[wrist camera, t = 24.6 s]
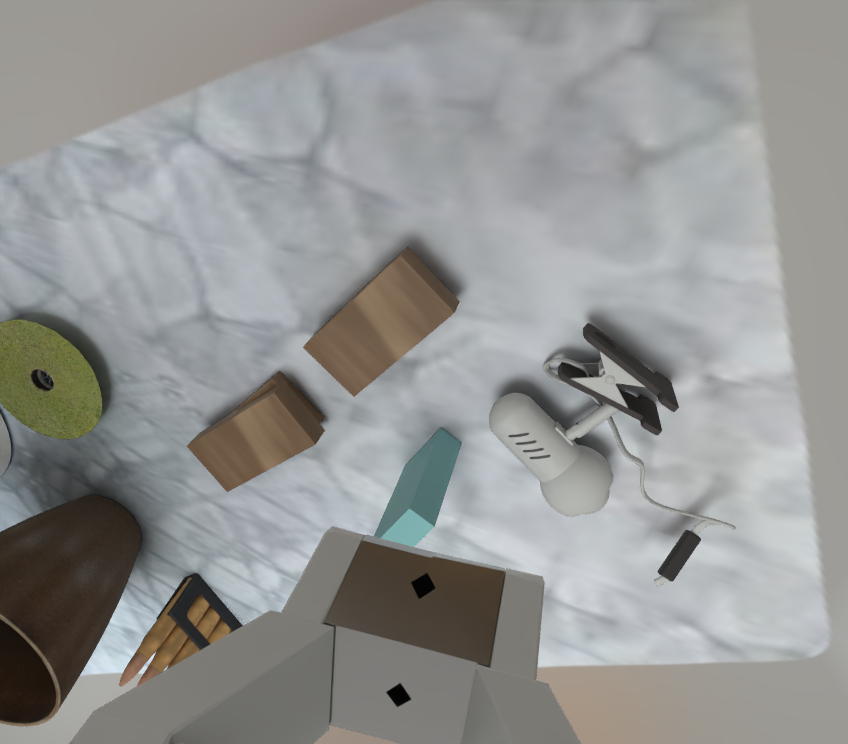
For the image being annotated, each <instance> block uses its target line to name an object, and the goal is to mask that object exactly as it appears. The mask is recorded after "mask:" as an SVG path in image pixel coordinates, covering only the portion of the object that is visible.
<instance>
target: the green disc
mask: <svg viewBox="0 0 848 744" xmlns="http://www.w3.org/2000/svg"><path fill="white" fill-rule="evenodd" d="M98 383H99V382H98V381H97V379H96V377H95V373H94V372H93V370H92V368H91V366H90V365H89V363H88V362H87V361H86V360H85V358H84V356H83V355H82V354H81V353H80V352H79V350H78V349H76V348H75V347H74V346H73V345H72V344H71V343H70V342H69V341H68V340H66V339H64V337H62V336H61V335H60V334H58V333H57V331H54V330H52V329H50V328H47V327H45V326H43V325H41V324H38V323H35V322H32V321H27V320H26V321H25V320H20V319H17V320H15V319H14V320H8V321H5V322H1V323H0V402H1V404H2V405H3V407H4V408H5V409H7V410H8V411H9V412H10V414H11V415H13V416H14V417H15V418H16V419H17V420H19V421H20V422H21V423H22V424H24V425H25V426H28V427H29V428H31V429H32V430H34V431H36V432H39V433H41V434H44V435H45V436H50V437H53V438H58V439H70V438H71V439H73V438H78V437H81V436H83V435H85V434H87V432H90V431H91V430H92V429H93V428H94V427H95V426H96V424H97V423H98V421H99V419H100V416H101V412H102V398H101V392H100V387H99V384H98Z"/></svg>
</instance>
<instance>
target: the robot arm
mask: <svg viewBox="0 0 848 744" xmlns="http://www.w3.org/2000/svg"><path fill="white" fill-rule="evenodd" d="M10 457H11V442H10V437H9V433H8V430H7V427H6V425H5V422H4V420H3V418H2V416H1V414H0V476H1V475H2V474H3V473H4V472H5V470H6V469H7V467H8V465H9V462H10ZM543 594H544V580H543V577H542V576H538V575H533V574H529V573H525V572H520V571H516V570H511V569H506V571H505V568H501V567H496V566H492V565H488V564H483V563H479V562H475V561H470V560H466V559H462V558H457V557H453V556H449V555H444V554H440V553H436V552H435V553H434V552H430V551H427V550H423V549H419V548H415V547H411V546H408V545H404V544H400V543H396V542H393V541H389V540H385V539H381V538H378V537H374V536H370V535H362V534H359V533H355V532H352V531H348V530H344V529H341V528H337V527H333V526H332V527H331V528H330V529H329V530H328V531H327V532H326V533H325V534H324V536H323V537H322V539H321V541H320V543H319V545H318V546H317V548H316V550H315V552H314V554H313V556H312V557H311V559H310V561H309V563H308V565H307V567H306V568H305V570H304V572H303V574H302V576H301V577H300V579H299V581H298V583H297V585H296V587H295V588H294V590H293V592H292V594H291V596H290V597H289V599H288V601H287V603H286V605H285V607H284V608H283V610H282V612H281V613H280V612H275V611H271V610H270V611H268V612H267V613H265V614H263V615H261V616H260V617H258V618H256V619H254V620H253V621H251V622H249V623H247V624H246V625H244V626H242V627H240V628H239V629H237V630H235V631H233V632H232V633H230V634H228V635H226V636H225V637H223V638H221V639H219V640H218V641H216V642H214V643H212V644H211V645H209V646H207V647H205V648H204V649H202V650H200V651H198V652H197V653H195V654H193V655H191V656H189V657H188V658H186V659H184V660H182V661H181V662H179V663H177V664H175V665H174V666H172V667H170V668H168V669H167V670H165V671H163V672H161V673H160V674H158V675H156V676H154V677H153V678H151V679H149V680H147V681H146V682H144V683H142V684H140V685H139V686H137V687H135V688H134V689H132V690H130V691H128V692H126V693H125V694H123V695H121V696H119V697H118V698H116V699H114V700H112V701H111V702H109V703H108V704H105V705H104V706H102V707H100V708H98V709H97V710H95V711H94V712H93V713H92V714H91V715H90V717H89V718H88V719H87V721H86V722H85V723H84V725H83V726H82V728H81V729H80V730H79V731H78V733H77V734H76V735H75V737H74V738H73V739H72V741H71V742H70V743H69V744H313V743H315V742H316V741H317V740H318V739H319V738H320V737H321V736H322V735H324V734H325V733H326V732H327V731H328V730H329V725H331V726H335V727H339V728H343V729H346V730H350V731H355V732H358V733H362V734H366V735H370V736H374V737H378V738H382V739H385V740H389V741H393V740H394V741H393V742H396V743H399V744H581V742H580V740H579V738H578V737H577V734H576V733H575V731H574V729H573V727H572V726H571V724H570V722H569V720H568V718H567V717H566V715H565V713H564V711H563V710H562V708H561V706H560V704H559V702H558V700H557V699H556V697H555V695H554V693H553V692H552V690H551V688H550V686H549V684H547V683H544V682H541V681H537V680H536V677H537V665H538V653H539V642H540V630H541V618H542V606H543Z"/></svg>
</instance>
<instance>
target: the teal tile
mask: <svg viewBox="0 0 848 744" xmlns="http://www.w3.org/2000/svg"><path fill="white" fill-rule="evenodd" d="M460 446H461V442H460V441H459V440H457V439H456V438H455V437H453V436H452V435H451V434H449V433H448V432H447V431H445V430H444V429H443V428H440V429H439V430H438V431H437V432H436V433H435V434H434V435H433V437H432V438H431V439H430V440H429V441H428V442H427V443H426V444H425V445H424V446H423V447H422V448H421V449H420V450H419V452H418V453H417V454H416V455H415V456H414V457H413V458H412V459H411V460H410V461H409V462H408V463H407V464H406V465H405V467H404V469H403V471H402V474H401V476H400V478H399V481H398V483H397V485H396V487H395V490H394V492H393V494H392V496H391V499H390V501H389V503H388V506H387V508H386V510H385V512H384V515H383V517H382V519H381V521H380V524H379V526H378V528H377V531H376V533H375V535H374V537H378V538H381V539H385V540H389V541H393V542H396V543H400V544H404V545H408V546H411V547H414V546H415V545H416V544H417V543H418V542H419V541H420V540H421V539H422V538H423V537H424V536H425V535H426V534H427V533H428V532H430V531H431V530H432V529H433V528H434V527H435V524H436V520H437V517H438V514H439V511H440V508H441V505H442V502H443V499H444V496H445V493H446V490H447V486H448V483H449V480H450V477H451V474H452V471H453V468H454V465H455V462H456V459H457V455H458V452H459V449H460Z"/></svg>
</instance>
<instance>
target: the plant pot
mask: <svg viewBox="0 0 848 744" xmlns="http://www.w3.org/2000/svg"><path fill="white" fill-rule="evenodd" d="M140 545H141V532H140V529H139V526H138V524H137V522H136V521H135V519H134V518H133V516H132V515H131V514H130V513H129V512H128V511H127V510H126V509H125V508H123V507H122V506H121V505H119V504H118V503H116V502H114V501H112V500H110V499H108V498H105V497H102V496H96V495H90V496H85V497H82V498H79V499H76V500H73V501H70V502H68V503H65V504H62V505H60V506H57V507H55V508H52V509H50V510H47V511H45V512H43V513H40V514H38V515H35V516H33V517H31V518H29V519H26V520H24V521H22V522H20V523H18V524H16V525H14V526H12V527H10V528H8V529H5V530H3V531H1V532H0V723H2V724H7V725H13V726H33V725H39V724H42V723H44V722H47V721H48V720H49V719H51V718H52V717H53V716H54V715H55V714H56V713H57V711H58V709H59V708H60V706H61V705H62V703H63V702H64V700H65V698H66V697H67V695H68V693H69V692H70V690H71V689H72V687H73V686H74V684H75V682H76V681H77V679H78V677H79V676H80V674H81V673H82V671H83V669H84V667H85V666H86V664H87V662H88V661H89V659H90V657H91V655H92V654H93V652H94V650H95V648H96V646H97V644H98V643H99V641H100V639H101V637H102V635H103V633H104V631H105V629H106V627H107V625H108V623H109V621H110V619H111V617H112V615H113V613H114V611H115V609H116V607H117V605H118V603H119V600H120V598H121V596H122V593H123V591H124V589H125V586H126V584H127V582H128V579H129V577H130V574H131V571H132V568H133V566H134V563H135V560H136V557H137V554H138V551H139V548H140Z"/></svg>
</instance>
